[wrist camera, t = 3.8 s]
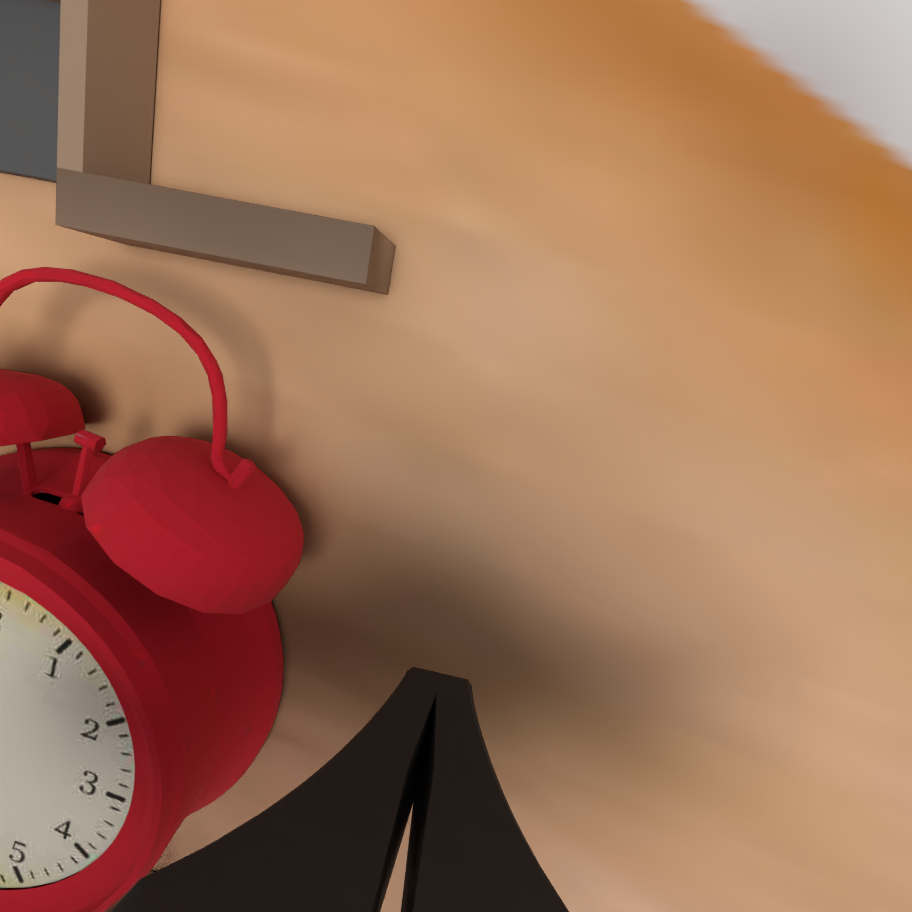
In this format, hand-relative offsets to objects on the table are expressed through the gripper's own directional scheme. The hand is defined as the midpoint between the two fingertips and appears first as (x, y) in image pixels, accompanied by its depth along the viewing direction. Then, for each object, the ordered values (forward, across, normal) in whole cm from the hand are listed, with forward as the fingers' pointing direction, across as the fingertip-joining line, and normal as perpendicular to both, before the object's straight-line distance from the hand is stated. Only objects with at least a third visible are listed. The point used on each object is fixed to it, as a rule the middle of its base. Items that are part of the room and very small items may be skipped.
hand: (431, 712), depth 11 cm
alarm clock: (+2, +9, 0) cm, 9 cm away
